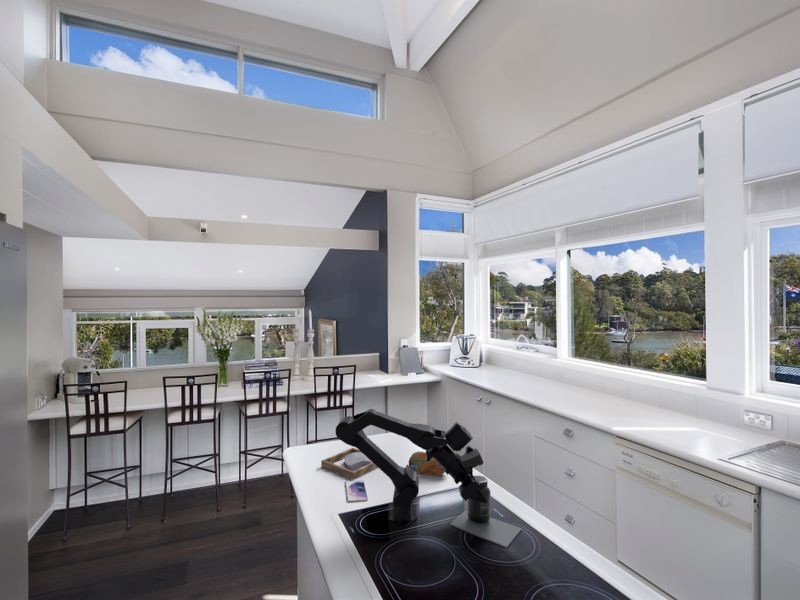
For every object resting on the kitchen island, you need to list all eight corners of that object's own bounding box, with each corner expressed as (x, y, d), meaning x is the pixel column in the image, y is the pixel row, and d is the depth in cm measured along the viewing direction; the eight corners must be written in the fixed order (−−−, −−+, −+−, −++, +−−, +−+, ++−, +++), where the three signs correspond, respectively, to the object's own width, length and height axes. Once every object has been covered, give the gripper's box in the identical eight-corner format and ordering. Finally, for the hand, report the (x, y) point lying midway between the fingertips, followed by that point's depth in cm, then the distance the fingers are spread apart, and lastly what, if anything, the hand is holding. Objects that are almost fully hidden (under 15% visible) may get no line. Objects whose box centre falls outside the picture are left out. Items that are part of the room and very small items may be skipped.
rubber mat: (506, 548, 111) (506, 546, 111) (450, 525, 122) (450, 523, 122) (521, 530, 120) (521, 528, 120) (467, 509, 131) (467, 508, 131)
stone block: (352, 477, 157) (375, 468, 162) (349, 466, 157) (373, 456, 161) (342, 467, 168) (364, 458, 172) (340, 456, 168) (362, 447, 172)
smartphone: (363, 480, 151) (368, 499, 136) (363, 482, 151) (368, 502, 136) (344, 481, 149) (347, 501, 134) (344, 483, 149) (347, 503, 134)
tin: (408, 474, 157) (408, 452, 157) (409, 470, 160) (409, 449, 160) (447, 476, 155) (447, 455, 155) (447, 473, 158) (447, 451, 158)
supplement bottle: (490, 513, 127) (491, 475, 126) (489, 525, 120) (490, 485, 120) (468, 510, 128) (469, 472, 128) (466, 521, 122) (467, 482, 122)
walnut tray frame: (353, 479, 152) (353, 472, 152) (321, 466, 163) (321, 460, 163) (384, 464, 166) (384, 458, 166) (352, 453, 177) (352, 447, 177)
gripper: (473, 453, 115) (511, 492, 115) (462, 431, 133) (494, 465, 134) (445, 481, 114) (483, 520, 115) (438, 455, 133) (470, 488, 133)
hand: (483, 496), depth 124 cm, fingers closed on supplement bottle, 7 cm apart
